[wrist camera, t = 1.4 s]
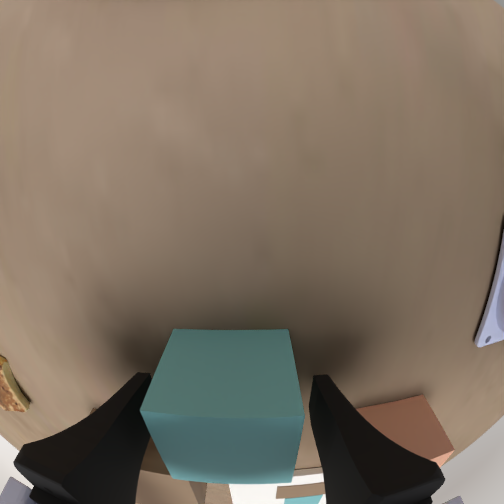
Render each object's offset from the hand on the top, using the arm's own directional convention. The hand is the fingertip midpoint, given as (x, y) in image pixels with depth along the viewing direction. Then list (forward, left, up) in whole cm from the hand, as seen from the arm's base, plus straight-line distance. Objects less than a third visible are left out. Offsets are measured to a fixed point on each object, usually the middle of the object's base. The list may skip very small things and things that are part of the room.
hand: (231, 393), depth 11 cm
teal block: (0, 0, -2) cm, 2 cm away
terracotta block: (-9, +6, -2) cm, 11 cm away
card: (-5, +15, -1) cm, 16 cm away
